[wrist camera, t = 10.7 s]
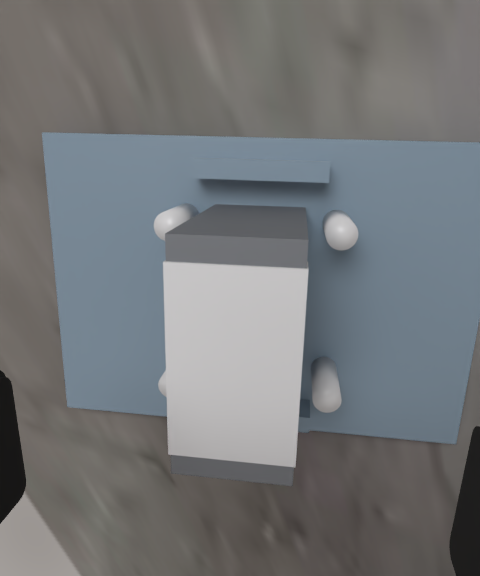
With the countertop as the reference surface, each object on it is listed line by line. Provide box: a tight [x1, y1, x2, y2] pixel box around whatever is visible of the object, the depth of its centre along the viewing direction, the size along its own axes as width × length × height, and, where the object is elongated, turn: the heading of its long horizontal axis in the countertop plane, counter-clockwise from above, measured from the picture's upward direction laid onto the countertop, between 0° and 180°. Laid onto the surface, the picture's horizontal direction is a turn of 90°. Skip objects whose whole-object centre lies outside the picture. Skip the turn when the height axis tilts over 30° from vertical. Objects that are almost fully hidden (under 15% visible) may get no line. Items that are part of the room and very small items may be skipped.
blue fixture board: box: [42, 133, 480, 444], centre depth 20 cm, size 20×14×4 cm
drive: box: [163, 204, 309, 486], centre depth 17 cm, size 4×8×8 cm, turn 179°
